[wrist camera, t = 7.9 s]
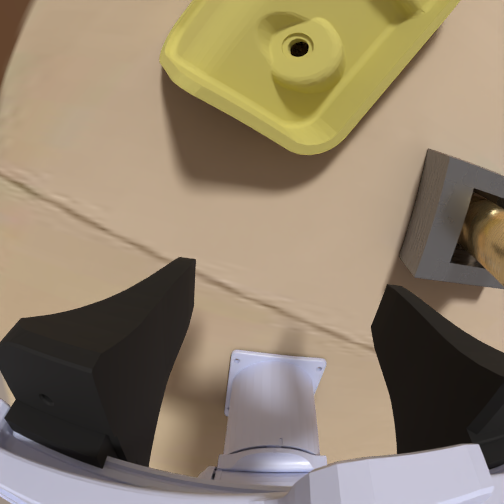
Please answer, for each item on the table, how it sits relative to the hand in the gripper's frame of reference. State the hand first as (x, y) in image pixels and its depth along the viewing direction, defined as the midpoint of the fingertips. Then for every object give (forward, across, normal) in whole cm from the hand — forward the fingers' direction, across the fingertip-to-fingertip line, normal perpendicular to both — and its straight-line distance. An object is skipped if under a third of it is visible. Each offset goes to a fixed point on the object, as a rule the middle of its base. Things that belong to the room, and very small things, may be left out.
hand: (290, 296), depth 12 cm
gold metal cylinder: (+10, -14, -2) cm, 17 cm away
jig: (+10, -14, -2) cm, 17 cm away
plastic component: (+10, -1, -14) cm, 18 cm away
